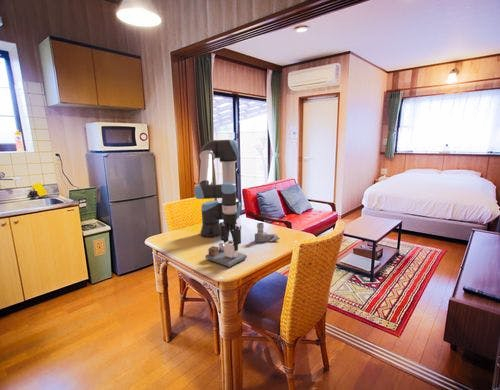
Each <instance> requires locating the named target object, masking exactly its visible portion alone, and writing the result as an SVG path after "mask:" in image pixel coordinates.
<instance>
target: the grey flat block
mask: <svg viewBox="0 0 500 390" xmlns="http://www.w3.org/2000/svg"><path fill="white" fill-rule="evenodd" d="M204 257H205V259H207V261H213V262H215V263H218V264H219V265H220V264H221V265H223V266H226V267H227V268H228V269H229V268H232V266H234V265H235V264H237V263H241V261H245V260H246V259H247V258H248V255H247V254H245V253H241V252H239V251H238V255H237V256H235V257H232V258H230V257H227V256H225V252H219V254H218V255H217V256H215V257H214V256H209V253H208V254H206V255H205V256H204Z"/></svg>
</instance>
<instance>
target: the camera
mask: <svg viewBox="0 0 500 390" xmlns="http://www.w3.org/2000/svg"><path fill="white" fill-rule="evenodd" d="M264 228H265V224H264V222H258V223H256V229H257V231H256V232H257V233H254V242H255V243H267V242H269V243H272V242H274V241H277V240H280V238H281V237H279V236H278V235H277V234H276V233H267V232H266V231H265V232H264Z"/></svg>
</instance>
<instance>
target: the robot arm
mask: <svg viewBox="0 0 500 390" xmlns="http://www.w3.org/2000/svg"><path fill="white" fill-rule="evenodd" d="M239 158H240V153H239V147H238V142H237V140H236V139H214V140H213V139H212V140H210V141H207V142H206V143H205V144H204V145H203V146H202V147H201V149H200V152H199V159H200V169H199V178H198V179H199V183H198V185H195V186H194V197H195V199H197V200H198V199H199V200H205V199H208V200H209V199H210V200H209V201H206V202H203V203H202V205H201V210H200V211H201V219H202V220H201V221H202V225H201V229H200V231H199V232H200V237H203V238H207V239H212V238H213V239H214V238H219V237H220V240H221V241H222V243H226V242H228V241H230V239H229V236H230V233H231V238H232V241H233V243H234V244H233V257H235V256H237V250H238V251H239V245H240V244H241V243H242V238H241V237H242V235H241V233H242V231H241V229H242V226H241V225H239V224H238V223H237V220H238V219H239V218H240V216H241V205H242V202H241V201H239V199H238V198H237V184H236V181H237V180H236V163H237V162H238V159H239ZM215 159H218V160H219V162H220V163H221V168H222V183H221V184H213V182H214V181H213V180H214V162H215ZM211 199H221V201H220V202H219V201H218V200H211ZM221 220H223V221H222V222H220V221H221Z"/></svg>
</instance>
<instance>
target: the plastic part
mask: <svg viewBox="0 0 500 390" xmlns="http://www.w3.org/2000/svg"><path fill="white" fill-rule="evenodd" d="M223 243H224V242H223ZM233 244H234V243H233V240H229V241H227V242H226V243H224V252H225V256H227V257H230V258H232V257H233ZM238 252H239V249H238V250H237V255H238Z"/></svg>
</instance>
